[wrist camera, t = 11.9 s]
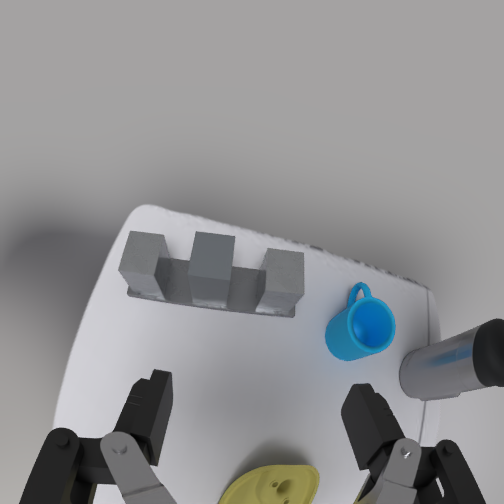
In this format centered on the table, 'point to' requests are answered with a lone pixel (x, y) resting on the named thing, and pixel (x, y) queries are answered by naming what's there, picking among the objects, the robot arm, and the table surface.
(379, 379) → the table surface
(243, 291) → the rail
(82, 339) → the table surface
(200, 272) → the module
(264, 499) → the plastic component
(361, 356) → the mug
